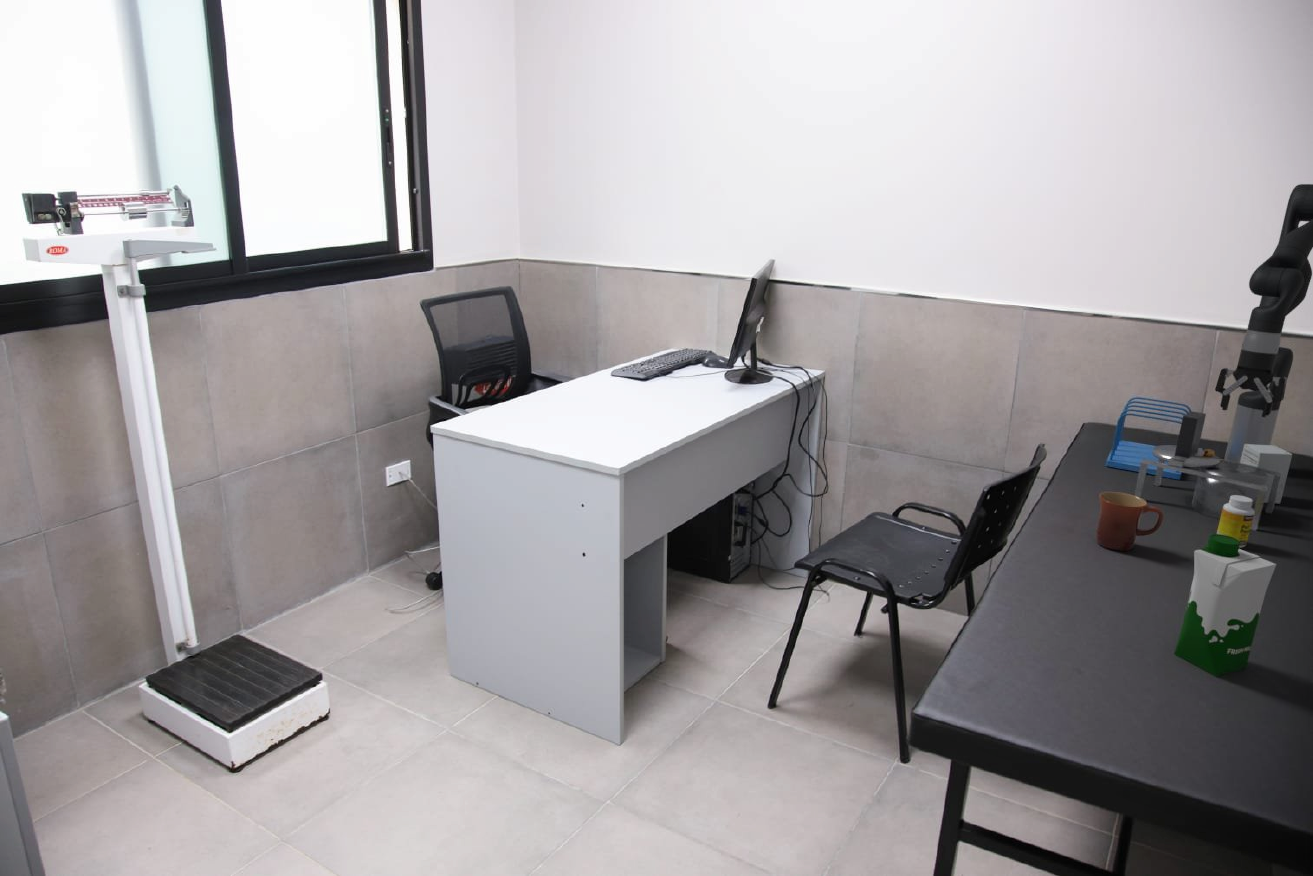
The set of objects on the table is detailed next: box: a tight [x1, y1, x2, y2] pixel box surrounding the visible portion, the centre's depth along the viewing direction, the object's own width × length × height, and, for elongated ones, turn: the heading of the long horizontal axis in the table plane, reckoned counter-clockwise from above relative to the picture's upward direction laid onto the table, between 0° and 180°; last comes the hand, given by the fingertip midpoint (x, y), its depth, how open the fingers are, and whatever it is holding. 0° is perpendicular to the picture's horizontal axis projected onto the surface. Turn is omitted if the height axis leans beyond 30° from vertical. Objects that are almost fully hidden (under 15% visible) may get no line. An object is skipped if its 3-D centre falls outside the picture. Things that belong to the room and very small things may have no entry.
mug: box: [1095, 491, 1164, 552], centre depth 178 cm, size 12×9×10 cm
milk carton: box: [1173, 533, 1277, 677], centre depth 134 cm, size 9×9×20 cm
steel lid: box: [1152, 410, 1221, 469], centre depth 204 cm, size 14×16×11 cm
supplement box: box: [1240, 444, 1293, 504], centre depth 210 cm, size 7×7×13 cm
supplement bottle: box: [1216, 495, 1255, 549], centre depth 182 cm, size 6×6×10 cm
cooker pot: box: [1134, 458, 1282, 532], centre depth 203 cm, size 25×16×10 cm, turn 45°
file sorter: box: [1105, 396, 1192, 480], centre depth 235 cm, size 25×17×15 cm
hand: (1243, 413), depth 219 cm, fingers open, 8 cm apart
